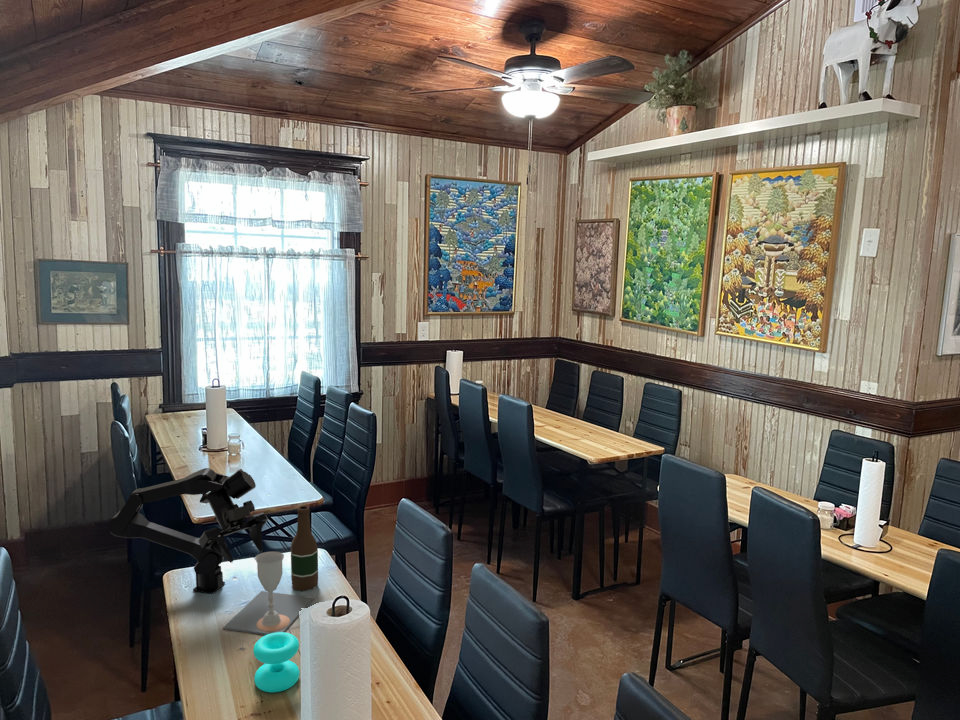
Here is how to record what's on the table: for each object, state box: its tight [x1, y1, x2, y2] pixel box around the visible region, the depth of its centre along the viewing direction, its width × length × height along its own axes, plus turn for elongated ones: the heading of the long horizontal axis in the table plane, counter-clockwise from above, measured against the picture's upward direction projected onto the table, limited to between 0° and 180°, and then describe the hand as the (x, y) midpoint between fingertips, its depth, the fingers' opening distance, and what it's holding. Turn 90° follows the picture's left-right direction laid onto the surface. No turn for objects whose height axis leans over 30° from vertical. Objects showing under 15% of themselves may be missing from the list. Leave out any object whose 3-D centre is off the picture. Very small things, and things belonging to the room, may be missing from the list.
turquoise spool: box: [253, 631, 300, 693], centre depth 161 cm, size 10×10×10 cm
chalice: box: [254, 551, 285, 627], centre depth 185 cm, size 7×7×18 cm
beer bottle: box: [290, 505, 319, 592], centre depth 206 cm, size 8×8×24 cm
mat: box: [222, 590, 315, 636], centre depth 191 cm, size 16×20×1 cm
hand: (247, 556), depth 195 cm, fingers open, 9 cm apart
